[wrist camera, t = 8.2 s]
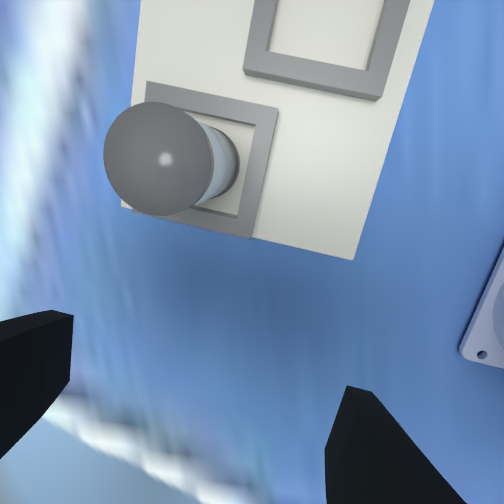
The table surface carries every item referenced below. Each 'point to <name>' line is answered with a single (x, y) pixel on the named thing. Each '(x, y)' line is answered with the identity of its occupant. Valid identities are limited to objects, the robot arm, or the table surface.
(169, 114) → the grey fuse
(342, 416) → the robot arm
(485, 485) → the table surface
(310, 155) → the fuse block
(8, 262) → the table surface
